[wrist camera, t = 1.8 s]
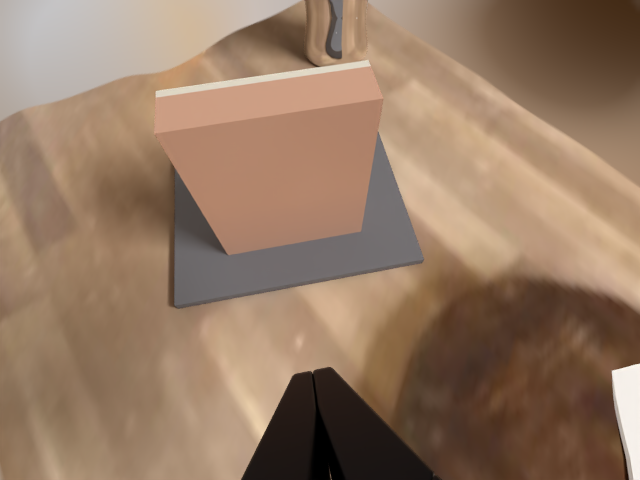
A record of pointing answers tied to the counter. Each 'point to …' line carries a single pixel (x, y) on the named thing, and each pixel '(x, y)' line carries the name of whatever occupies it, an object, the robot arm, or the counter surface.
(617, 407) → the knife
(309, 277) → the mat
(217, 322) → the counter surface
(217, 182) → the tile
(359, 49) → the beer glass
